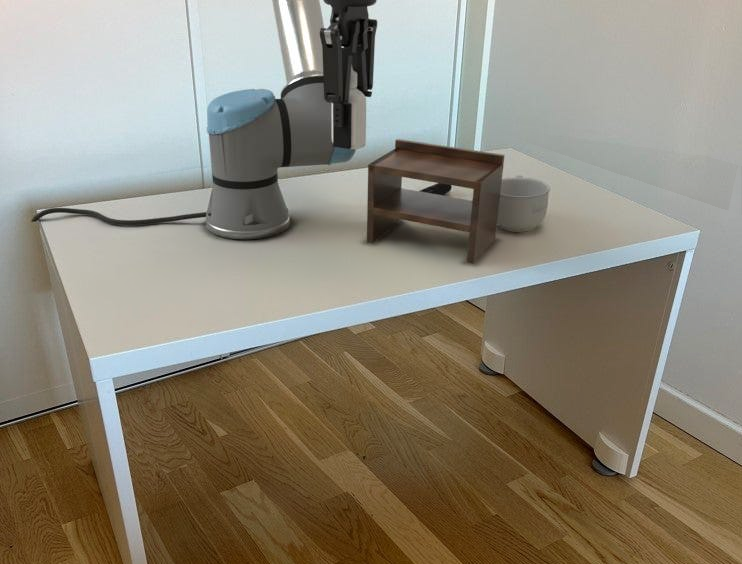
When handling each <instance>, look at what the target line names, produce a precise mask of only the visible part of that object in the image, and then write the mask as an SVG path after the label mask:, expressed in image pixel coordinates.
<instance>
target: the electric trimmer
mask: <svg viewBox="0 0 742 564" xmlns="http://www.w3.org/2000/svg"><path fill="white" fill-rule="evenodd" d="M452 187H453V185H447V184H441V183H434V184H432V185H430V186H427V187H425V188H422V189H420V190H419V191H420V192H425V193H431V194H437V195H443V196H446V194H448V193H449V192H451V191H452V189H453V188H452Z"/></svg>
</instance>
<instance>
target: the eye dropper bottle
mask: <svg viewBox="0 0 742 564" xmlns="http://www.w3.org/2000/svg"><path fill="white" fill-rule="evenodd" d="M356 87H357V73H356V72H355V71H353V69H352V66H351V77H350V89H349V100H348V103H350V104H352V113H351V148H350V149H356V150H359V149H362V148H364V147H366V145H367V97H365V95H364V94H363V93H362V92H361V91H359V90H358V89H357V88H356ZM332 143H333V103H332Z"/></svg>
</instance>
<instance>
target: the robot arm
mask: <svg viewBox="0 0 742 564" xmlns="http://www.w3.org/2000/svg"><path fill="white" fill-rule="evenodd" d="M271 1H272V7H273V13H274V19H275V25H276V30H277V36H278V41H279V47H280V53H281V59H282V66H283V70H284V77H285V81H286V82H285V83H286V84H285V85H284V86H283V87H282V88H281V91H280V98H276V96H275V95H274V93H273V91H272V90H269V89H265V88H257V89H255V88H247V89H240V90H236V91H235V90H234V91H230V92H226V93H224V94H221V95H219V96H217V97H215V98H213V99H212V100H211V101H210V102H209V104H208V106H207V109H206V115H207V116H206V121H207V123H206V125H207V126H206V133H207V134H208V142H209V154H210V155H209V156H210V166H211V167H210V169H211V179H212V188H211V191H210V196H209V200H208V205H207V210H206V211H204V212H203V211H202V212H196V213H186V214H179V215H173V216H165V217H155V218H146V219H132V220H131V219H129V220H128V219H116V218H110V217H107V216H105V215H103V214H102V213H100V212H97V211H95V210H91V209H79V208H69V207H51V208H46V209H44V210H42V211H40V212H38V213H36V214H35V215H34V216H33V217H32V218H31V220H30V222H31V223H34V222H38V221H39V220H40V219H41V218H43V217H45V216H47V215H51V214H60V213H61V214H64V213H65V214H74V215H86V216H92V217H95V218H97V219H99V220H101V221H102V222H105V223H107V224H111V225H115V226H116V225H117V226H142V225H151V224H160V223H161V224H162V223H170V222H178V221H185V220H192V219H193V220H194V219H202V218H205V224H206V229H207V230H208V231H209V232H210V233H212V234H213V235H216V236H218V237H221V238H227V239H232V240H258V239H264V238H270V237H273V236H276V235H279V234H280V233H283V232H285V231H286V230H287V229H288V228H289V227H290V224H291V222H290V212H289V209H288V208H287V204H286V200H285V198H284V195H283V193H282V191H281V188H280V185H279V177H278V175H279V174H278V169H280V168H294V167H308V166H325V165H327V166H332V165H334V164H342V163H343V164H344V163H347V162H350V161H351V160H352V159H353V157H354V155H355V154H356V152H357V149H350V148H351V113H352V104H350V103H348V100H349V89H350V77H351V66H352V69H353V71H355V72H356V73H357V87H356V88H357V89H358V90H359V91H361V92H362V93H363V94H364V95H365V97H366V98H372V95H373V91H372V90H373V88H374V71H375V70H374V69H375V68H374V67H375V50H376V49H375V47H376V34H377V29H378V20H377V19H376V18H375V19H374V18H370V16H369V10H368V7H371V6H374V5H375V4H377V1H378V0H323V3H324V4H325V5H328V6H330V7H331V13H330V18H329V26H328V27H326V28H325V23H324V19H323V13H322V12H323V11H322V7H321V2H320V0H271ZM332 103H333V143H332Z"/></svg>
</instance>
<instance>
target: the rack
mask: <svg viewBox="0 0 742 564" xmlns="http://www.w3.org/2000/svg"><path fill="white" fill-rule="evenodd" d="M505 157H506V156H505V154H501V153H495V152H489V151H481V150H475V149H467V148H461V147H454V146H447V145H441V144H434V143H426V142H420V141H414V140H407V139H402V138H401V139H400V138H397V139H395V141H394V148H393V149H391V150H390V151H388V152H387V153H385V154H383V155H382V156H380V157H378V158H377V159H375V160H373V161H371V162H370V163H368V164H367V202H366V203H367V205H366V207H367V208H366V209H367V211H366V212H367V213H366V243H369V244H374V243H375V242H377V241H378V240H379V239H380V238H381V237H382V236H384V235H386V234H387V233H388V232H390V231H391V230H392V229H393V228H394V227H395V226H397V225H399V223H401V220H402V221H405V222H406V221H407V222H411V223H412V222H413V223H418V224H423V225H428V226H433V227H438V228H442V229H443V228H444V229H449V230H454V231H458V232H465V233H468V244H467V254H466V255H467V256H466V263H467V264H472V265H474V263H476V261H477V260H478V259H479V258H480V257H481V256H482V255H483V254H484V253H485V252H486V251H487V250H488V248H489V247H490V246H491V245H492V244H493V243H494V242H495V241H496V236H497V235H496V234H497V228H498V227H497V225H498V224H497V218H498V209H499V200H500V191H501V183H502V179H503V172H504V165H505V164H504V163H505ZM403 178H407V179H411V180H417V181H423V182H430V183H434V184H437V183H441V184H447V185H452V187H453V186H455V187H458V188H459V187H460V188H465V189H466V188H467V189H471V190H473V191H472V200H470V199H466V198H459V197H455V196H448V195H444V196H443V195H437V194H431V193H425V192H420V190H412V189H409V188H408V189H407V188H402V184H403V183H402V182H403Z"/></svg>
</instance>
